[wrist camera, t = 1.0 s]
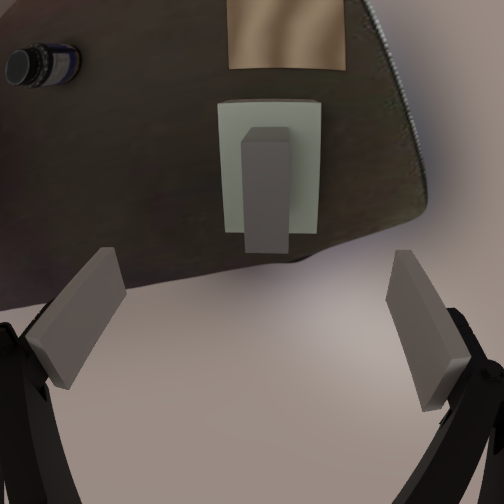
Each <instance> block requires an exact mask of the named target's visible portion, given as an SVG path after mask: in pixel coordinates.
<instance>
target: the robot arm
mask: <svg viewBox="0 0 504 504" xmlns="http://www.w3.org/2000/svg"><path fill="white" fill-rule="evenodd" d="M126 294H127V293H126V290H125V286H124V283H123V279H122V276H121V272H120V268H119V265H118V261H117V257H116V253H115V249H114V247H101V248H100V249H99V250H98V251H97V252H96V254H95V255H94V256H93V257H92V258H91V259H90V260H89V261H88V262H87V263H86V264H85V265H84V267H83V268H82V269H81V270H80V271H79V272H78V273H77V274H76V275H75V277H74V278H73V279H72V280H71V281H70V282H69V283H68V285H67V286H66V287H65V288H64V289H63V290H62V291H61V293H60V294H59V295H58V296H57V297H56V298H54V299H53V300H51V301H50V302H48V303H47V304H46V305H45V306H44V307H43V308H42V310H41V311H40V313H38V314H37V316H36V317H35V319H34V320H32V322H31V323H30V324H29V325H28V327H27V328H26V329H25V331H24V332H23V333H22V334H21V336H20V337H19V338H18V336H17V335H16V333H15V331H14V329H13V327H12V326H11V324H9V323H8V322H3V323H0V504H4V481H5V486H6V491H7V496H8V500H9V504H82V503H81V500H80V497H79V495H78V492H77V489H76V487H75V484H74V481H73V478H72V475H71V473H70V469H69V466H68V463H67V460H66V457H65V454H64V450H63V447H62V444H61V440H60V436H59V432H58V428H57V425H56V420H55V416H54V412H53V408H52V403H51V398H50V393H49V389H48V386H47V384H46V383H45V381H46V380H47V378H48V377H49V378H50V379H51V381H52V383H53V384H54V386H56V387H59V388H63V389H66V390H69V389H70V387H71V385H72V383H73V382H74V380H75V378H76V376H77V375H78V373H79V371H80V369H81V368H82V366H83V364H84V362H85V361H86V359H87V357H88V356H89V354H90V352H91V351H92V349H93V347H94V345H95V344H96V342H97V340H98V339H99V337H100V335H101V334H102V332H103V331H104V329H105V327H106V326H107V324H108V323H109V321H110V319H111V318H112V316H113V314H114V313H115V311H116V310H117V308H118V307H119V305H120V303H121V302H122V300H123V299H124V297H125V296H126ZM386 302H387V305H388V307H389V310H390V313H391V315H392V318H393V321H394V324H395V326H396V329H397V332H398V335H399V337H400V341H401V344H402V346H403V350H404V353H405V356H406V358H407V362H408V365H409V368H410V371H411V374H412V377H413V380H414V384H415V387H416V391H417V394H418V397H419V401H420V404H421V408H422V411H423V412H426V411H432V410H438V409H441V408H442V406H443V405H444V403H445V402H446V400H448V403H449V406H450V409H449V410H448V412H447V413H446V415H445V416H444V417H443V419H442V420H441V422H440V423H439V424H440V427H439V429H438V431H437V433H436V434H435V436H434V438H433V440H432V442H431V443H430V445H429V447H428V449H427V450H426V452H425V454H424V455H423V457H422V459H421V460H420V462H419V464H418V465H417V467H416V469H415V470H414V472H413V473H412V475H411V476H410V478H409V480H408V481H407V482H406V484H405V485H404V487H403V488H402V490H401V491H400V493H399V494H398V495H397V497H396V498H395V500H394V501H393V502H392V504H459V502H460V500H461V499H462V497H463V495H464V493H465V491H466V489H467V486H468V485H469V482H470V480H471V478H472V476H473V474H474V472H475V469H476V467H477V465H478V463H479V460H480V458H481V456H482V453H483V451H484V448H485V445H486V443H487V440H488V438H489V443H488V450H487V458H486V463H485V469H484V475H483V481H482V485H481V490H480V494H479V499H478V503H477V504H504V369H503V367H502V366H501V365H500V364H499V363H497V362H495V361H493V360H489V359H487V357H486V355H485V354H484V351H483V349H482V348H481V346H480V344H479V342H478V340H477V338H476V336H475V335H474V334H473V331H472V329H471V328H470V327H469V324H468V322H467V321H466V319H465V317H464V316H463V314H461V313H460V312H459V311H458V310H457V309H456V308H446V307H445V305H444V304H443V302H442V300H441V298H440V297H439V295H438V293H437V291H436V290H435V288H434V286H433V285H432V283H431V281H430V280H429V278H428V276H427V275H426V273H425V271H424V270H423V268H422V267H421V265H420V264H419V262H418V260H417V259H416V257H415V255H414V254H413V252H412V251H411V250H396V252H395V258H394V263H393V268H392V272H391V278H390V282H389V287H388V291H387V296H386Z"/></svg>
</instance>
